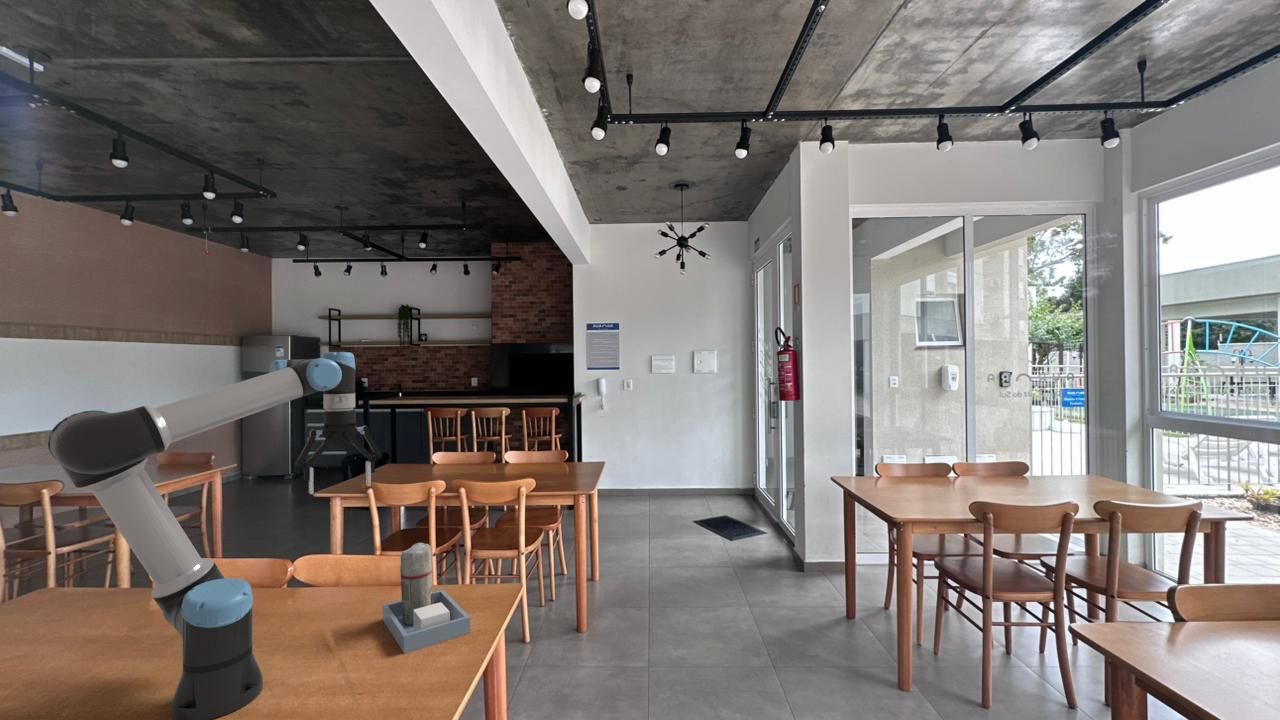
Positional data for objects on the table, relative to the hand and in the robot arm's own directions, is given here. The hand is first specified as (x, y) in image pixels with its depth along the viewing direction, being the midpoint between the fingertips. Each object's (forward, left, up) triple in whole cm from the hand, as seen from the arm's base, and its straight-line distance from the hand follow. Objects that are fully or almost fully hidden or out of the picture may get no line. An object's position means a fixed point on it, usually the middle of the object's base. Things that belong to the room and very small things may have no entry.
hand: (340, 489), depth 147 cm
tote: (+17, -16, -37) cm, 43 cm away
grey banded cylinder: (+16, -11, -36) cm, 41 cm away
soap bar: (+17, -22, -36) cm, 45 cm away
